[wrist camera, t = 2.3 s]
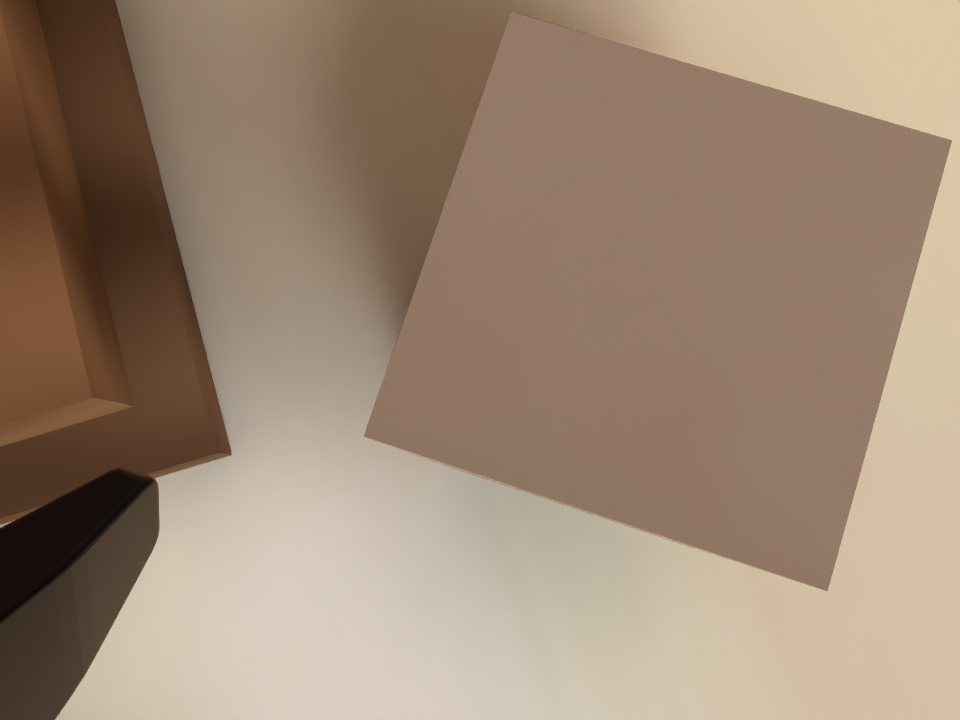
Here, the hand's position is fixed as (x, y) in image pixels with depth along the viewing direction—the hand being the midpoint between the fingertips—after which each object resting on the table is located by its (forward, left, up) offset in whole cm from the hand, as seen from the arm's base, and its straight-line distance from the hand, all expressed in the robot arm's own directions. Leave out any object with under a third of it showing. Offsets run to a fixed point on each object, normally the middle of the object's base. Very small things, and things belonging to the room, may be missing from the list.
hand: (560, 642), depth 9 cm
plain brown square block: (+4, +2, -11) cm, 12 cm away
